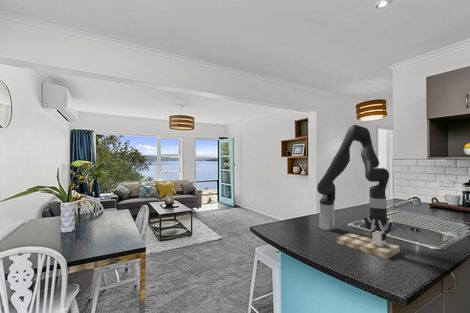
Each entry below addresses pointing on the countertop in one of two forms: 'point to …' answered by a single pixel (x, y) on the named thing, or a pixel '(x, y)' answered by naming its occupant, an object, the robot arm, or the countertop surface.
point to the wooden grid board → (368, 245)
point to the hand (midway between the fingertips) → (378, 238)
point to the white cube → (378, 239)
